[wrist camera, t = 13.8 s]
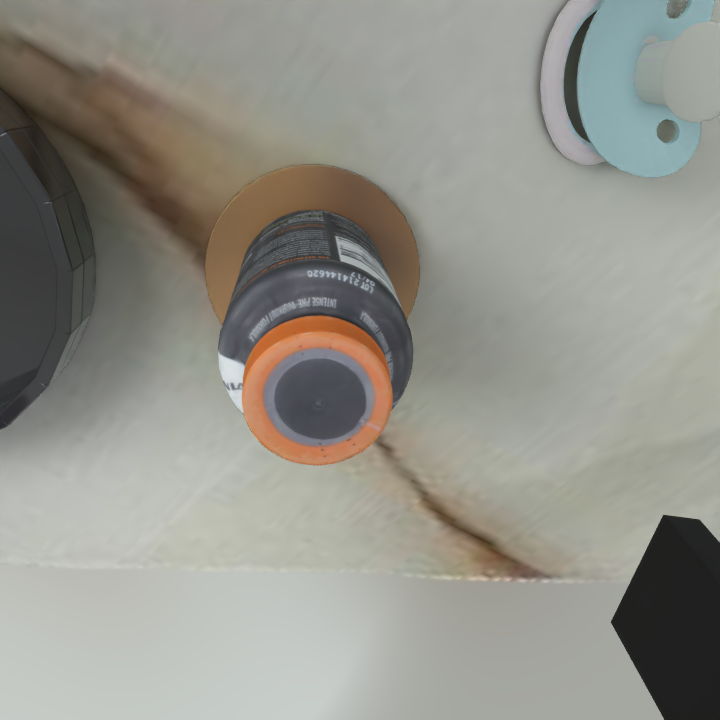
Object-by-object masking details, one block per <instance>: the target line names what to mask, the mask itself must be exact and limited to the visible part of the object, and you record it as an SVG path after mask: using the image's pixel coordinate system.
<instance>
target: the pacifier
mask: <svg viewBox="0 0 720 720" xmlns="http://www.w3.org/2000/svg"><path fill="white" fill-rule="evenodd" d="M714 1H715V0H687V5H686V8H685V10H684V11H683V13H682V14H681V15H680V16H678V17H677V18H675V19H671V18H669V17H668V16H667V13H666V6H667V4H668V2H669V0H569V1H568V3H567V4H566V6H565V7H564V8H563V10H562V11H561V12H560V14H559V15H558V17H557V19H556V21H555V24H554V26H553V28H552V30H551V33H550V35H549V37H548V41H547V45H546V49H545V52H544V56H543V60H542V70H541V81H540V91H541V105H542V111H543V115H544V119H545V123H546V127H547V130H548V132H549V134H550V136H551V138H552V140H553V142H554V144H555V146H556V147H557V148H558V149H559V151H560V152H561V153H562V154H563V155H564V156H565V157H566V158H567V159H569V160H571V161H573V162H575V163H577V164H580V165H591V166H592V165H595V164H598V163H601V162H604V161H606V162H608V163H609V164H611V165H612V166H614V167H616V168H618V169H620V170H622V171H625V172H627V173H630V174H633V175H637V176H640V177H650V178H652V177H662V176H665V175H669V174H672V173H673V172H675V171H677V170H679V169H681V168H682V167H683V166H684V165H685V164H686V163H687V162H688V161H689V159H690V158H691V157H692V155H693V154H694V152H695V150H696V147H697V145H698V142H699V139H700V134H701V122H703V121H707V120H710V119H713V118H715V117H717V116H719V115H720V22H715V21H711V22H710V19H711V16H712V12H713V6H714ZM595 11H597V12H596V14H595V15H594V17H593V19H592V21H591V24H590V26H589V28H588V31H587V33H586V36H585V39H584V42H583V45H582V49H581V53H580V58H579V63H578V71H577V102H578V107H579V112H580V117H581V121H582V125H583V127H584V129H585V132H586V134H587V136H588V139H589V141H590V142H587V141H586V140H584V139H582V138H581V137H580V136H579V135H578V133H577V132H576V131H575V130H574V128H573V126H572V124H571V122H570V119H569V117H568V114H567V110H566V105H565V101H564V85H563V82H564V72H565V64H566V60H567V56H568V52H569V49H570V46H571V44H572V41H573V39H574V37H575V35H576V32H577V31H578V29H579V28H580V27H581V25H582V24H583V22H584V21H585V19H587V18H588V17H589V16H590V15H591V14H593V13H594V12H595ZM666 119H668V120H670V121H671V122H672V123H673V124H674V126H675V129H676V133H675V136H674V138H673V139H672V140H671V141H670V142H667V143H664V142H662V141H661V140H659V138H658V136H657V127H658V125H659V123H660V122H661V121H663V120H666Z"/></svg>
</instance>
